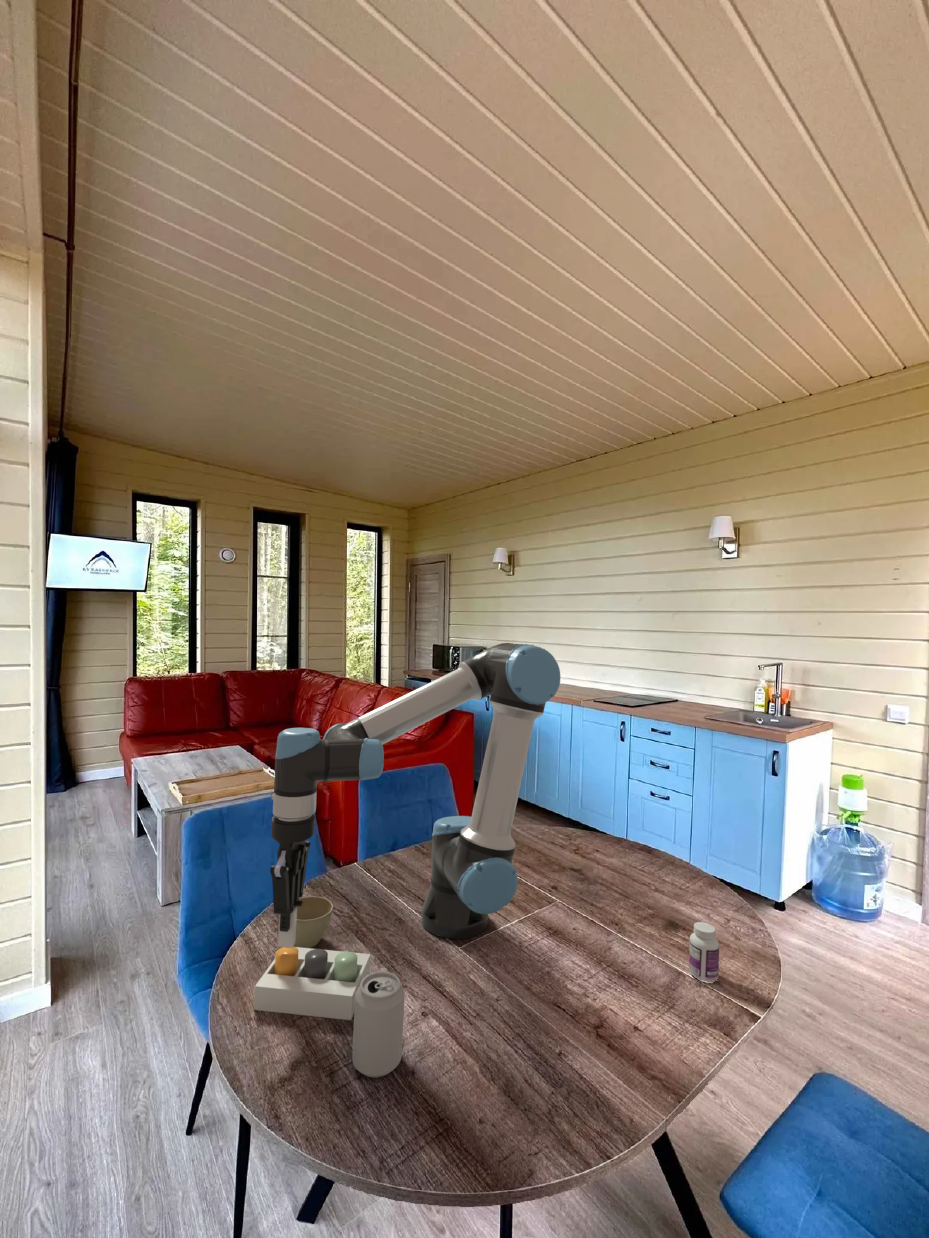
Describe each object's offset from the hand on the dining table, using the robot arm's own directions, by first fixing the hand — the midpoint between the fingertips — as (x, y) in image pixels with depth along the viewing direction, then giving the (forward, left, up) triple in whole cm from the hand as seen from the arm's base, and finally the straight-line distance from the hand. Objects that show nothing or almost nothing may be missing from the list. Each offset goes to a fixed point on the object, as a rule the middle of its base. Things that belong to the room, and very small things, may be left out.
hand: (286, 944), depth 99 cm
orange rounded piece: (0, 0, -5) cm, 5 cm away
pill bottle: (-79, -16, -8) cm, 81 cm away
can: (-21, +14, -8) cm, 26 cm away
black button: (-6, 0, -5) cm, 8 cm away
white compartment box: (-6, 0, -8) cm, 10 cm away
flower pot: (+1, -15, -8) cm, 17 cm away
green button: (-11, 0, -5) cm, 12 cm away
